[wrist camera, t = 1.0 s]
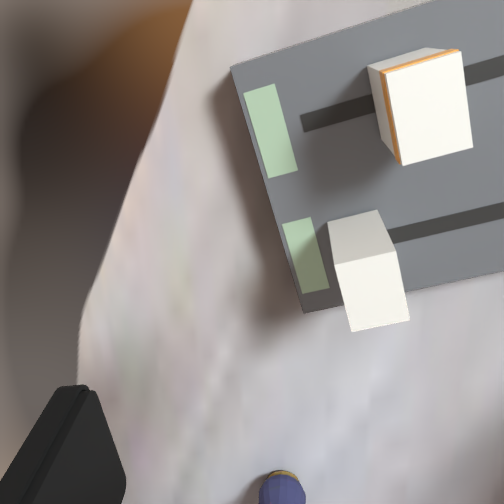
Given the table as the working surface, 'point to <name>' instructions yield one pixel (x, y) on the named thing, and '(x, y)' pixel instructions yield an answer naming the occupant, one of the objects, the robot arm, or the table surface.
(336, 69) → the breaker panel
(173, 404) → the table surface
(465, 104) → the block
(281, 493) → the rubber mallet
